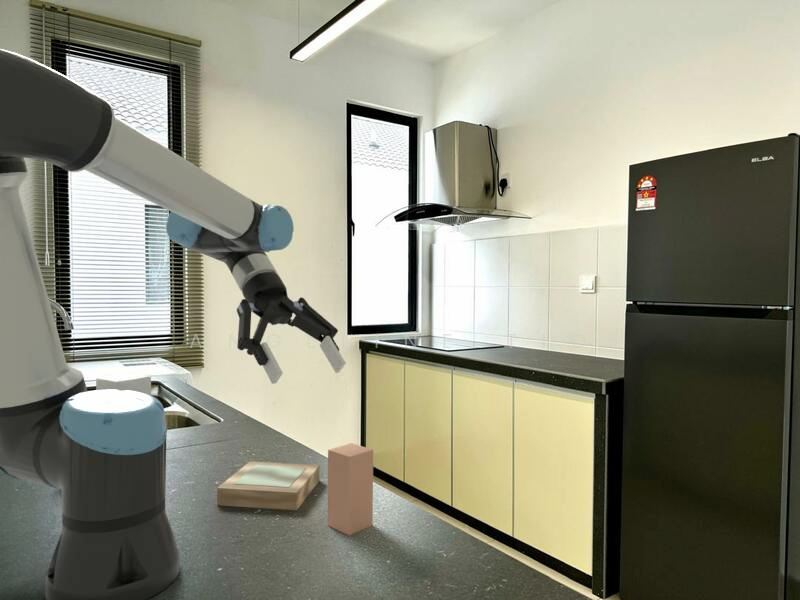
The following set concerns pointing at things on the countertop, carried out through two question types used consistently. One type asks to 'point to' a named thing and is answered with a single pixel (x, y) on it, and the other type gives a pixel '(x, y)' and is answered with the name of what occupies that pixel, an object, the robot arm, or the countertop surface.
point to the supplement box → (125, 383)
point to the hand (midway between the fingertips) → (311, 373)
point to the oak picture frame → (269, 485)
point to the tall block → (350, 488)
